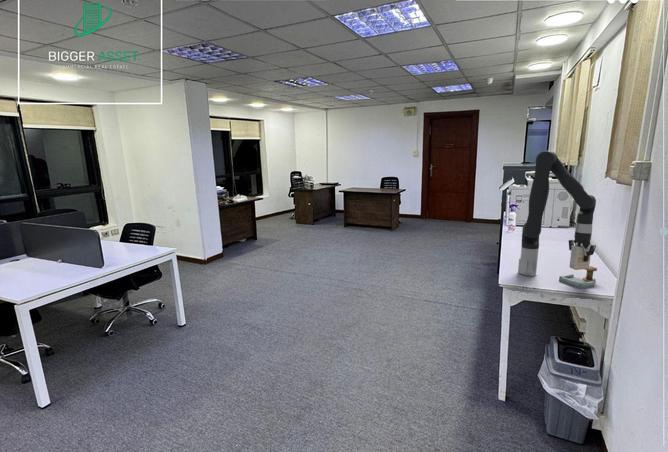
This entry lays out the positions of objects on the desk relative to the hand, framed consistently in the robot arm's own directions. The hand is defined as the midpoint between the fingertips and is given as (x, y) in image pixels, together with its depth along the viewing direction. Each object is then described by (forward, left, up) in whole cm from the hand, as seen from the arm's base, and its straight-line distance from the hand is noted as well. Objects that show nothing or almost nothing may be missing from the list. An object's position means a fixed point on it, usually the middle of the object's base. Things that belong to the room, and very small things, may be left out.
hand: (579, 259), depth 188 cm
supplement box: (0, 0, -5) cm, 5 cm away
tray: (-1, 0, -14) cm, 14 cm away
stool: (+9, 0, -14) cm, 17 cm away
